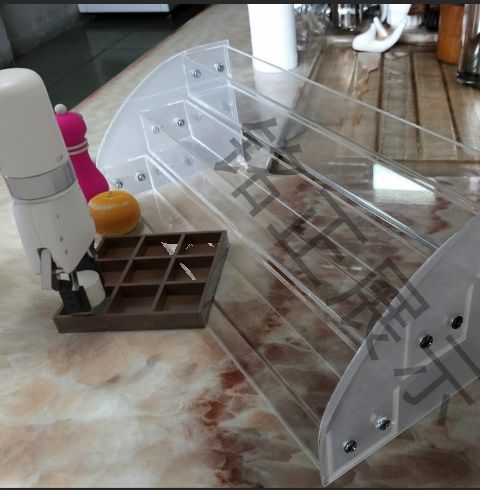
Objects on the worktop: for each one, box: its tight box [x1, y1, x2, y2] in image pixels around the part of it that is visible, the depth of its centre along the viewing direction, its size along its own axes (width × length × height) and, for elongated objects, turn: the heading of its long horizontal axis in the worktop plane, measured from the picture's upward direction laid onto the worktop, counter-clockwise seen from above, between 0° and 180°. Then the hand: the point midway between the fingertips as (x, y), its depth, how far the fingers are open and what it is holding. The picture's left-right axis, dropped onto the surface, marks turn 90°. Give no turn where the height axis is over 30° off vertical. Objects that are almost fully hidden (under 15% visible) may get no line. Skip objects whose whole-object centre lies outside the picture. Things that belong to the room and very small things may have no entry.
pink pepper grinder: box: [54, 103, 110, 204], centre depth 101 cm, size 7×7×20 cm
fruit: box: [88, 189, 141, 237], centre depth 98 cm, size 8×8×8 cm
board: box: [52, 229, 230, 334], centre depth 86 cm, size 20×20×3 cm
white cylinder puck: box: [65, 270, 105, 308], centre depth 79 cm, size 5×5×3 cm
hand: (86, 297), depth 80 cm, fingers closed on white cylinder puck, 4 cm apart
